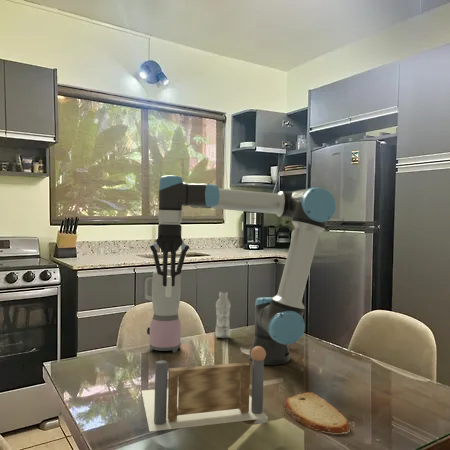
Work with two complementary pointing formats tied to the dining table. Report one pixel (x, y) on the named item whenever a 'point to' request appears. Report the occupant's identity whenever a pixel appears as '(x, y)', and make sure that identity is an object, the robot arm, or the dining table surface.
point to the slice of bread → (315, 413)
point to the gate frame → (159, 412)
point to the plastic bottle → (222, 316)
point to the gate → (208, 389)
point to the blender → (164, 313)
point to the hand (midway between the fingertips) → (168, 296)
